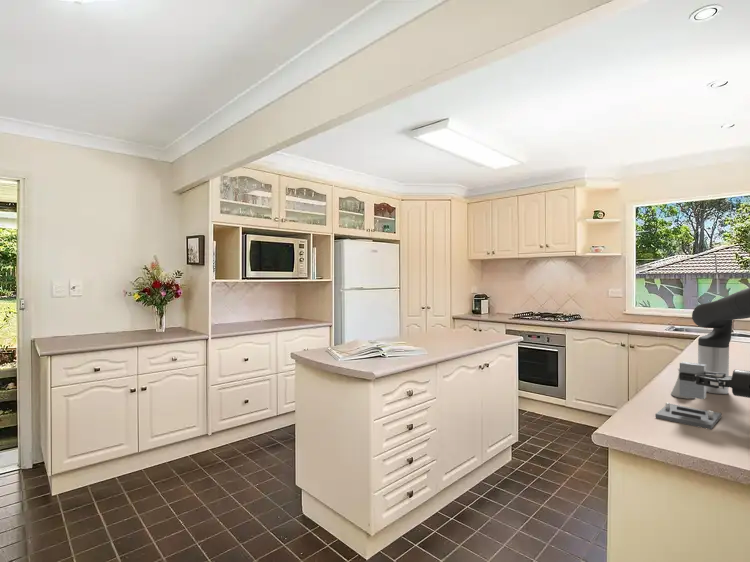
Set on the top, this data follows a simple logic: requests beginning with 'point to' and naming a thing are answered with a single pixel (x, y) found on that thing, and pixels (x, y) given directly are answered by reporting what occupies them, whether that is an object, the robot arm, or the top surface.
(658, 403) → the top surface
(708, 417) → the gray docking base
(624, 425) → the top surface
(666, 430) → the top surface
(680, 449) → the top surface
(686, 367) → the drive
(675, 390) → the flask
